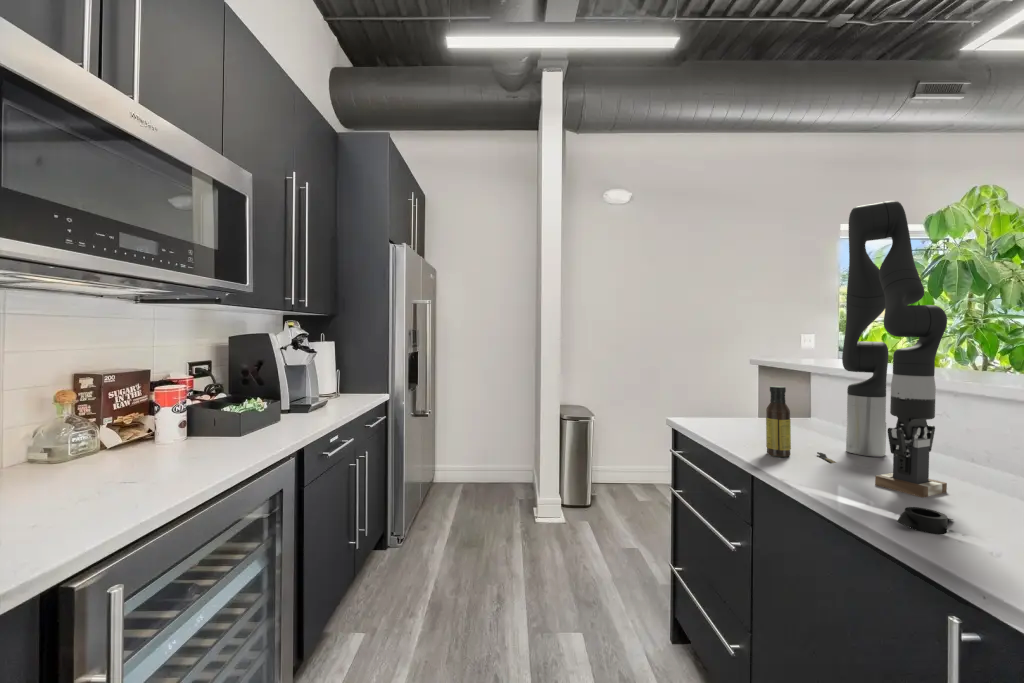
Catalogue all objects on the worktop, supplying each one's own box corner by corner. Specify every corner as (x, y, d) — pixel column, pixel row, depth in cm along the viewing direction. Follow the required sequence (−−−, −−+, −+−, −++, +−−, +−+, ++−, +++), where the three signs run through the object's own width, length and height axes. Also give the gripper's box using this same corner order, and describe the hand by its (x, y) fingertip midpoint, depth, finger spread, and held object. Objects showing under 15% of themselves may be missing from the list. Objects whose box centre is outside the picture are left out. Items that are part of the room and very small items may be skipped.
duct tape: (883, 517, 90) (883, 502, 90) (949, 525, 86) (949, 509, 86) (900, 532, 83) (900, 516, 83) (972, 542, 79) (973, 524, 79)
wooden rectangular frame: (898, 484, 110) (898, 471, 110) (946, 496, 101) (946, 482, 101) (875, 489, 106) (875, 475, 106) (923, 502, 98) (923, 487, 98)
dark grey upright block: (904, 483, 107) (905, 434, 107) (928, 489, 103) (930, 439, 102) (892, 485, 105) (893, 436, 105) (916, 491, 101) (918, 440, 101)
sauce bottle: (790, 454, 137) (792, 386, 137) (790, 458, 132) (792, 388, 132) (765, 451, 140) (767, 384, 140) (764, 455, 135) (766, 386, 135)
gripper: (911, 392, 110) (909, 465, 110) (874, 394, 104) (872, 471, 104) (951, 396, 103) (949, 473, 103) (914, 399, 97) (912, 481, 97)
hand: (910, 472), depth 104 cm, fingers closed on dark grey upright block, 4 cm apart
